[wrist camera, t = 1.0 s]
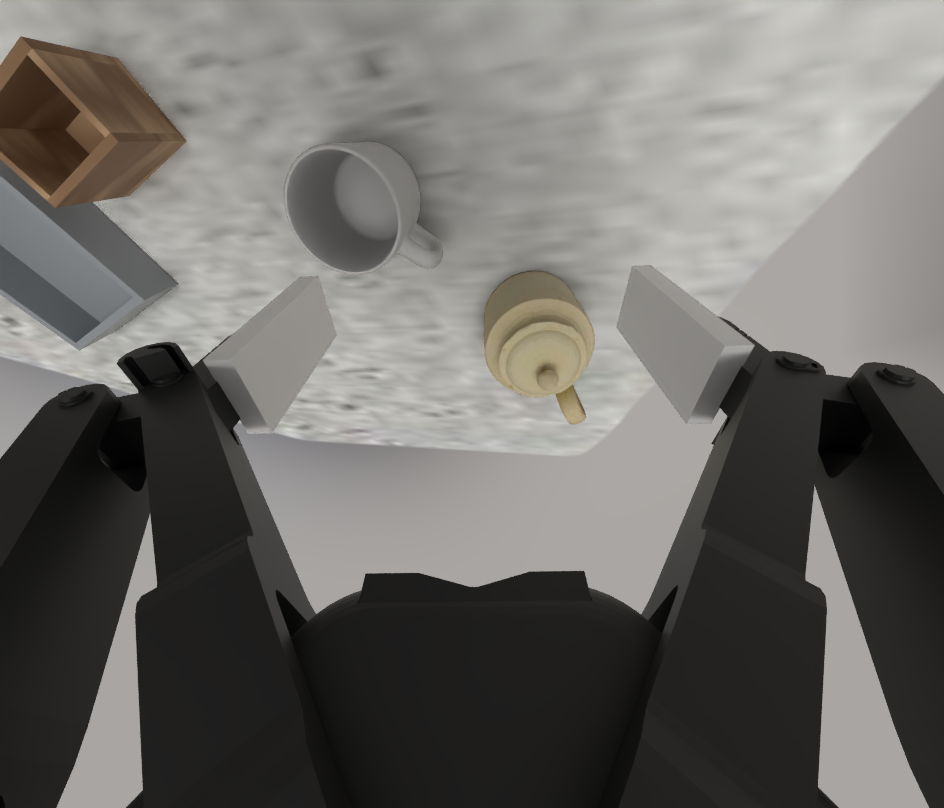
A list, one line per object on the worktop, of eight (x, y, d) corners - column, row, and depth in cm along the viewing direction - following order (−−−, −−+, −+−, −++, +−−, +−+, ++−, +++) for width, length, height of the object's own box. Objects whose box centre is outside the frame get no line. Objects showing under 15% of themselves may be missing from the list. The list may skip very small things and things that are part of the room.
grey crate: (-72, 184, 33) (-146, 190, 29) (-13, 104, 29) (-89, 98, 25) (116, 330, 42) (79, 350, 38) (178, 283, 38) (144, 300, 35)
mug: (321, 210, 34) (268, 235, 25) (351, 117, 29) (300, 108, 21) (426, 277, 38) (412, 318, 29) (467, 204, 33) (465, 226, 25)
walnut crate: (60, 126, 30) (-41, 123, 24) (118, 58, 27) (20, 36, 21) (129, 195, 33) (55, 207, 27) (187, 141, 31) (118, 141, 25)
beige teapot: (619, 316, 41) (678, 390, 29) (560, 382, 47) (589, 464, 35) (517, 249, 36) (539, 303, 24) (466, 331, 42) (463, 407, 30)
